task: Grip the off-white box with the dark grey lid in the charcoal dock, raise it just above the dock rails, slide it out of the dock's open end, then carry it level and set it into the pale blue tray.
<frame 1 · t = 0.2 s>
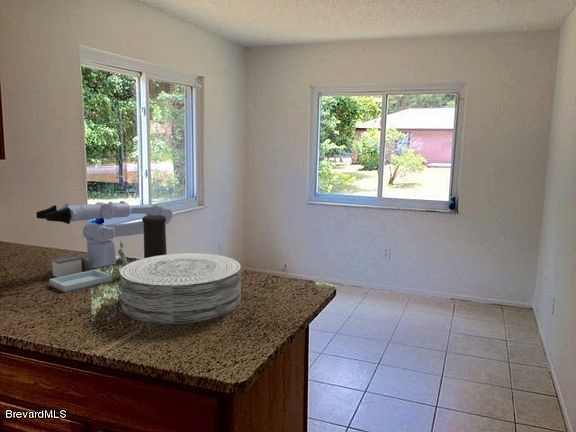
hand: (41, 216, 161), 21 cm above the worktop, tool horizontal, fingers open, 7 cm apart
bay: (69, 274, 166), on the worktop
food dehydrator: (177, 302, 140), on the worktop
container: (155, 268, 175), on the worktop
tray: (81, 283, 156), on the worktop
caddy: (67, 274, 166), on the worktop
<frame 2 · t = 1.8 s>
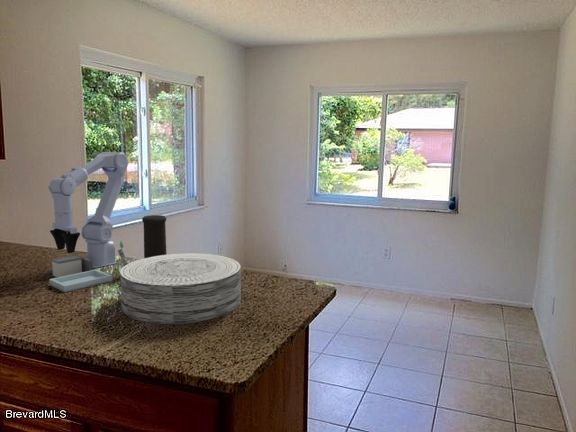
hand: (66, 250, 165), 9 cm above the worktop, tool pointing down, fingers open, 7 cm apart
nothing on the worktop moved.
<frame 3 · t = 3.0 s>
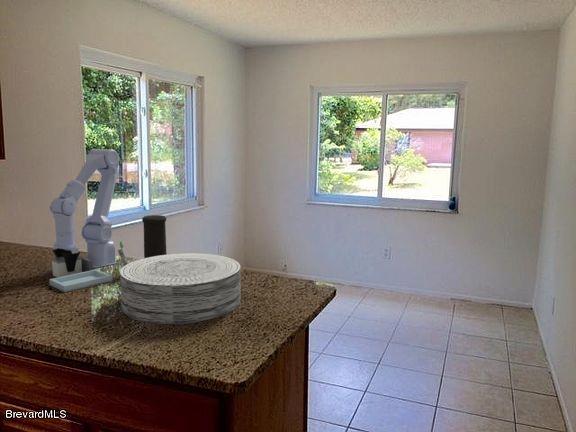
hand: (67, 269, 166), 2 cm above the worktop, tool pointing down, fingers closed on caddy, 5 cm apart
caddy: (67, 274, 166), on the worktop, touching gripper
everything else where it was.
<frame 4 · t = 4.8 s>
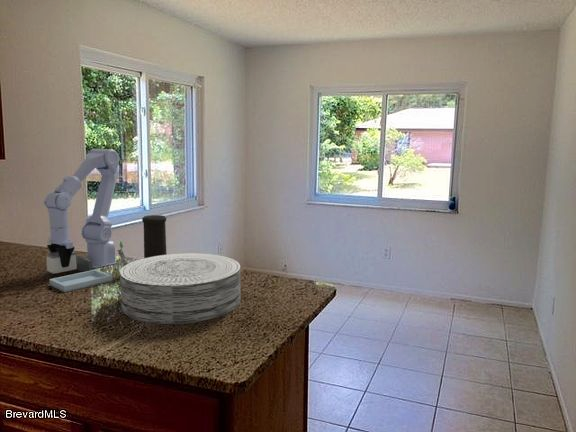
hand: (61, 265, 164), 4 cm above the worktop, tool pointing down, fingers closed on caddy, 5 cm apart
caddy: (62, 269, 164), point 2 cm above the worktop, touching gripper
everything else where it was.
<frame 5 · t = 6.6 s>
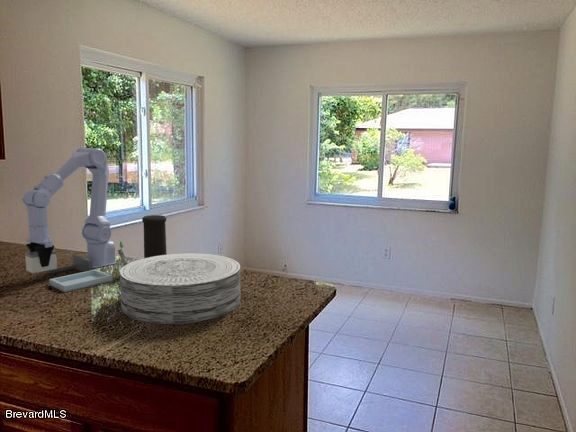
hand: (41, 264, 159), 5 cm above the worktop, tool pointing down, fingers closed on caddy, 5 cm apart
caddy: (41, 269, 159), point 4 cm above the worktop, touching gripper
everything else where it was.
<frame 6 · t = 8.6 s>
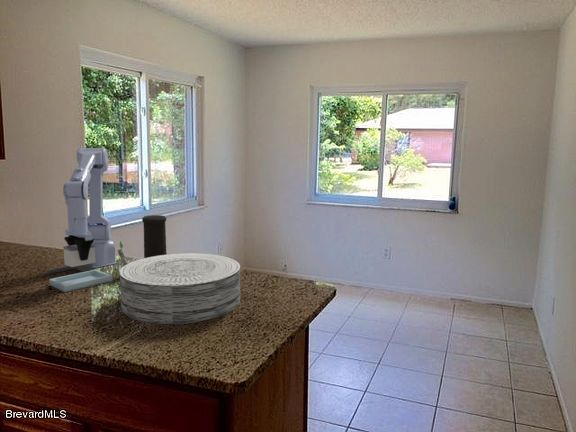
hand: (80, 258, 155), 8 cm above the worktop, tool pointing down, fingers closed on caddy, 5 cm apart
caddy: (80, 263, 155), point 7 cm above the worktop, touching gripper
everything else where it was.
when the fingers open (3 cm above the worktop, at t = 10.4 s): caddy stays where it is, resting on tray.
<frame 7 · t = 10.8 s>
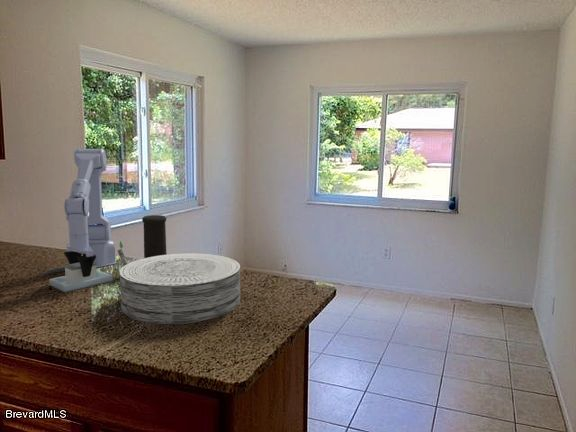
hand: (81, 274, 156), 3 cm above the worktop, tool pointing down, fingers open, 7 cm apart
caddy: (81, 281, 156), resting on tray
everything else where it was.
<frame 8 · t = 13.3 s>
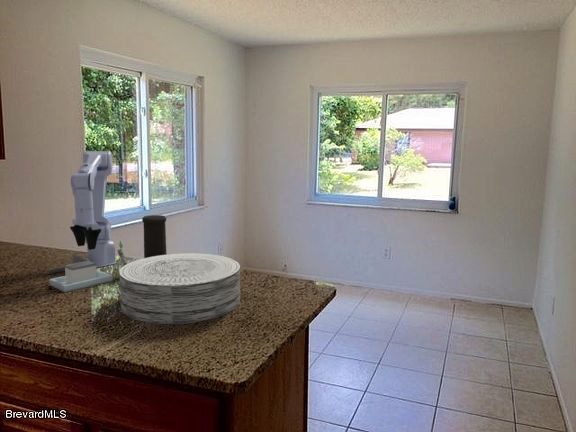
hand: (86, 247, 162), 10 cm above the worktop, tool pointing down, fingers open, 7 cm apart
nothing on the worktop moved.
at the end: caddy 0.0 cm off-centre on the tray, point 0.5 cm above the tray's base; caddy tilted 0°; the gripper is holding nothing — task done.
